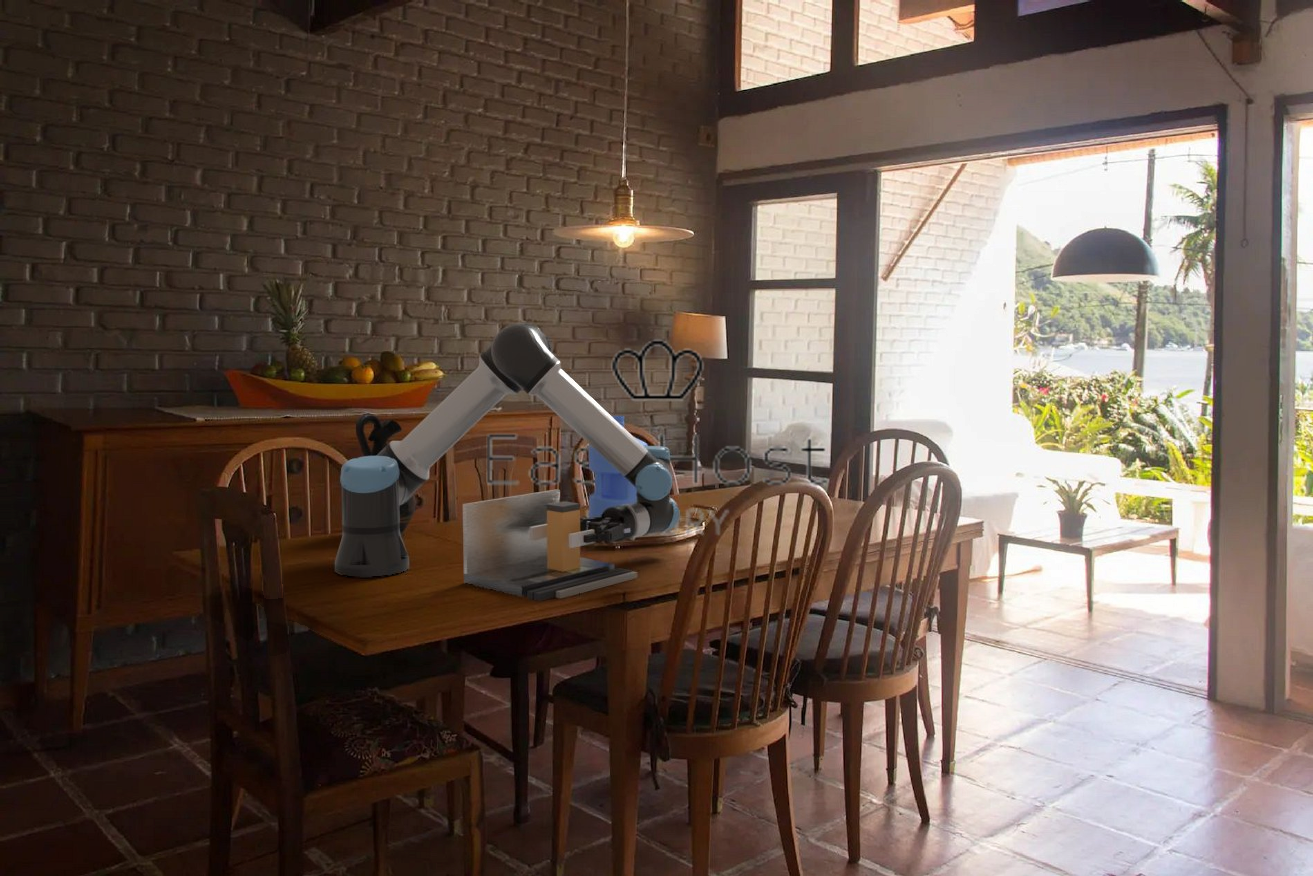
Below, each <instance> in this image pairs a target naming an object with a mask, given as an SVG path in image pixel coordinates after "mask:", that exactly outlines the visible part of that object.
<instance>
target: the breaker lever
mask: <svg viewBox="0 0 1313 876" xmlns="http://www.w3.org/2000/svg"><path fill="white" fill-rule="evenodd" d="M580 517H581V503H577V502H572V501H565V500H564V501H560V502H558V503H552V504H547V568H548V569H552V570H557V571H562V572H564V571H568V570H572V569H576V568H580V557H581V546H579V547H574V548H569V534H572V533H577V532H580Z"/></svg>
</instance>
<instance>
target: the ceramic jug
mask: <svg viewBox="0 0 1313 876" xmlns="http://www.w3.org/2000/svg"><path fill="white" fill-rule="evenodd" d="M370 423H371V424H373V429H372V430H371V432H370V434H369V437H368V439H367V436H366V433H365V426H366V425H368V424H370ZM402 430H403V429H402V426H401V425H400V424H399V423H398V422H397V421H396V420H394V419H389V420H387V421H386V419H384V420H383V421H381V419H380V418H379V417H377V416H376V415H374V414H369V413H368V414H367V413H366V414H363V415H360V417H359V418H357V421H356V424H355V433H356V437H357V440H358V442H359V443H358V444H359V446H360V449H361V450H360V451H361V453H362V454H363V457H364V456H376V455H378V454H379V453H380V452H381V451H382V450H383V449H384V448H385V447H386V446H387V445H388V444H387V441H388V440H389V439H390V438H392V437H393V436H395V435H397V434H399V433H400V432H402ZM368 441H369V442H373V444H372V449H371V448H370V446H369V442H368ZM415 511H416V497H415V492H414V493H413V495H412V497H411V498H410V499H409V500H408V501H407V502H405V503H404V504H402V505H400V506H399V516H400V534H401V537H404V536H405V530H406V528H407V527H408V525H409V523H410V522H411V520H412V518H413V516H414V513H415ZM403 535H404V536H403Z"/></svg>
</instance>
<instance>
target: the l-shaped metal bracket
mask: <svg viewBox="0 0 1313 876" xmlns="http://www.w3.org/2000/svg"><path fill="white" fill-rule="evenodd" d="M558 502H561V490H560V489H558V488H557V489H550V490H544V491H539V492H538V491H537V492H531V493H530V492H529V493H525V494H519V495H511V496H504V497H500V498H493V499H488V500H487V499H486V500H480V501H475V502H467V503H462V535H463V536H462V537H463V539H462V543H463V546H462V548H463V549H462V550H463V552H462V553H463V554H462V555H463V584H465V583H468V584H467V585H469V584H474V585H477V586H476V587H478V586H479V587H478V588H482V587H486V588H487V589H486V588H485V589H486V590H490V589H493V590H492V591H494V590H496V591H495V592H498V591H502V592H504V594H507V593H510V594H509V595H511V594H512V595H511V596H515V595H517V596H516V597H519V598H524V597H527V591H530V590H534V589H538V588H542V587H546V586H550V585H554V584H558V583H562V582H566V581H570V580H574V579H578V578H582V577H586V576H590V575H594V574H598V573H602V572H606V571H610V570H614V569H616V568H615V564H616V563H611V562H606V561H602V560H596V559H591V558H585V557H581V556H580V568H576V569H572V570H568V571H564V572H562V571H557V570H552V569H548V568H547V538H543V539H538V540H533V541H532V540H530V527H533V526H538V525H544V524H547V504H552V503H558ZM502 592H501V593H502Z"/></svg>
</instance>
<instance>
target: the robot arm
mask: <svg viewBox="0 0 1313 876" xmlns="http://www.w3.org/2000/svg"><path fill="white" fill-rule="evenodd" d="M478 358H479V359H478V360H479V361H478V363H479V364H478V367H477V368H476V369H474V370H473V371H472V373H470V374H469V375H468V376H467V377H466V378H465V379H464V380H463V381H461V383H460V384H459V385H458V386H457V387H456V388H455V389H454V390H453V391H451V393H450V394H449V395H448V396H446V398H444V400H442V401H441V402H440V403H439V404H438V405H437V406H436V407H435V408H434V409H433V410H432V411H431V412H430V413H429V414H428V415H427V416H426V417H425V418H424V419H422V421H420V423H418V425H417V426H415V427H414V428H413V429H412V430H411V431H410V432H409V433H408V434H407V435H406V436H404V438H402V440H391V441H390V442H389V443H388V444H387V446H386V447H385V448H384V449H383V450H382V451H381V452H380V453H379V454H378V455H376V456H364V455H363V456H360V457H359V456H358V457H356V458H354V457H353V458H352V459H349V460H346V462H344V463H343V464H342V466H341V469H340V478H339V479H340V480H339V481H340V484H341V485H340V489H341V490H340V492H341V494H340V495H341V497H340V498H341V518H342V519H341V525H342V536H341V540H340V543H339V546H338V550H337V553H336V556H335V559H334V572H336V573H340V574H342V575H349V576H360V577H359V578H373V577H372V576H381V577H383V576H382V575H388V576H393V575H392V574H394V575H396V574H395V573H398V574H401V572H402V573H404V572H406V571H408V570H409V569H410V557H409V555H408V551H407V548H406V546H405V542H404V540H403V538H402V537H403V536H401V534H400V516H399V506H400V505H402V504H404V503H405V502H407V501H408V500H409V499H410V498H411V497H412V495H413V493H414V494H415V493H416V492H417V491H418V490H419V489H420V487H421V486H423V485H424V483H426V482H427V481H428V480H429V479H430V469H431V467H432V466H434V465H435V463H436V462H438V461H439V459H441V458H442V457H443V456H444V455H445V454H446V453H447V452H449V450H450V449H451V448H452V447H453V446H455V444H456V443H457V442H459V441H460V439H461V438H463V436H464V435H466V434H467V433H468V432H469V431H470V430H471V429H472V428H473V427H474V426H475V425H477V423H478V422H479V421H480V420H481V419H483V418H484V417H485V415H487V414H488V413H489V412H490V411H491V410H492V409H493V408H495V406H496V405H497V404H498V403H499V402H500V401H501V400H502V399H503V398H504V397H506V395H517V394H518V393H519V392H520V391H521V390H523V392H525V393H526V394H527V395H528V396H536V397H537V398H539V399H540V400H541V401H542V402H543V403H544V405H546V406H547V407H548V408H549V409H550V410H552V411H553V412H554V413H555V415H557V416H558V417H560V419H561V420H563V422H565V423H566V425H568V426H569V427H570V428H571V429H572V430H574V432H576V433H577V434H578V436H580V437H581V439H583V440H584V441H585V442H586V443H587V444H589V445H591V446H592V447H593V448H594V449H595V450H596V451H597V452H598V453H599V454H600V455H602V456H603V457H604V458H605V459H606V460H607V461H608V462H609V463H610V464H611V465H612V466H613V467H615V468H616V469H617V470H618V471H619V472H620V473H621V474H622V475H623V476H624V477H625V478H626V479H627V480H628V481H629V482H630V483H631V484H632V485H634V486H635V487H636V489H637V493H636V503H629V504H624V505H621V506H615V507H609V508H607V509H606V510H605V511H604V512H603V513H602V515H601V516H595V517H593V518H589V517H587V516H586V515H584V516H580V532H577V533H572V534H569V548H574V547H579V546H580V547H583V546H587V545H591V544H592V545H593V544H595V543H596V544H601V543H602V542H604V544H606V545H609V544H611V543H614V542H615V543H619V542H621V541H622V542H623V541H626V540H628V539H630V541H635V539H636V538H639V537H643V536H649V535H653V534H657V533H658V534H660V533H664V532H666V531H669V530H672V529H673V528H675V527H676V525H677V524H678V523H679V520H680V515H681V513H680V509H679V506H678V503H677V501H675V500H674V499H673V498H671V493H670V491H671V489H672V487H673V483H674V482H673V481H674V480H673V478H674V477H673V475H672V472H671V455H670V454H671V452H670V449H669V448H668V447H666V446H661V445H660V446H659V445H648V446H643V445H642V444H641V443H640V442H638V441H637V440H636V439H635V438H636V437H635V436H634V435H632V434H631V433H630V432H629V431H628V430H627V429H626V428H625V426H624V427H622V426H621V425H620V424H619V423H618V422H617V421H616V420H615V419H614V418H613V416H612V415H611V414H610V412H608V411H607V410H606V409H605V408H603V407H602V406H601V405H600V404H599V403H598V402H597V401H596V400H595V399H594V398H593V397H592V396H590V395H589V394H588V393H587V391H585V390H584V389H583V388H582V387H581V386H580V385H579V384H578V383H577V382H575V380H574V379H573V378H572V377H570V375H568V374H567V372H565V371H564V369H562V366H561V365H562V364H561V361H560V360H559V359H558V357H556V356H555V355H554V354H553V352H552V346H551V343H550V340H549V339H548V337H547V336H546V335H545V333H544V332H543V330H541V329H540V328H539V327H537V326H535V325H534V324H530V323H516V324H515V323H513V324H510V325H508V326H506V327H504V328H502V329H501V330H499V331H498V333H497V334H496V335H495V337H494V338H493V341H492V343H491V344H490V345H489V346H488V347H487V348H486V349H485V350H484V351H483V352H482V353H481V354H480V355H479V356H478ZM634 437H635V438H634ZM543 538H547V524H544V525H538V526H533V527H530V540H532V541H533V540H538V539H543ZM407 569H408V570H407ZM403 571H404V572H403ZM336 573H335V574H336ZM342 575H341V576H342Z"/></svg>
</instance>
